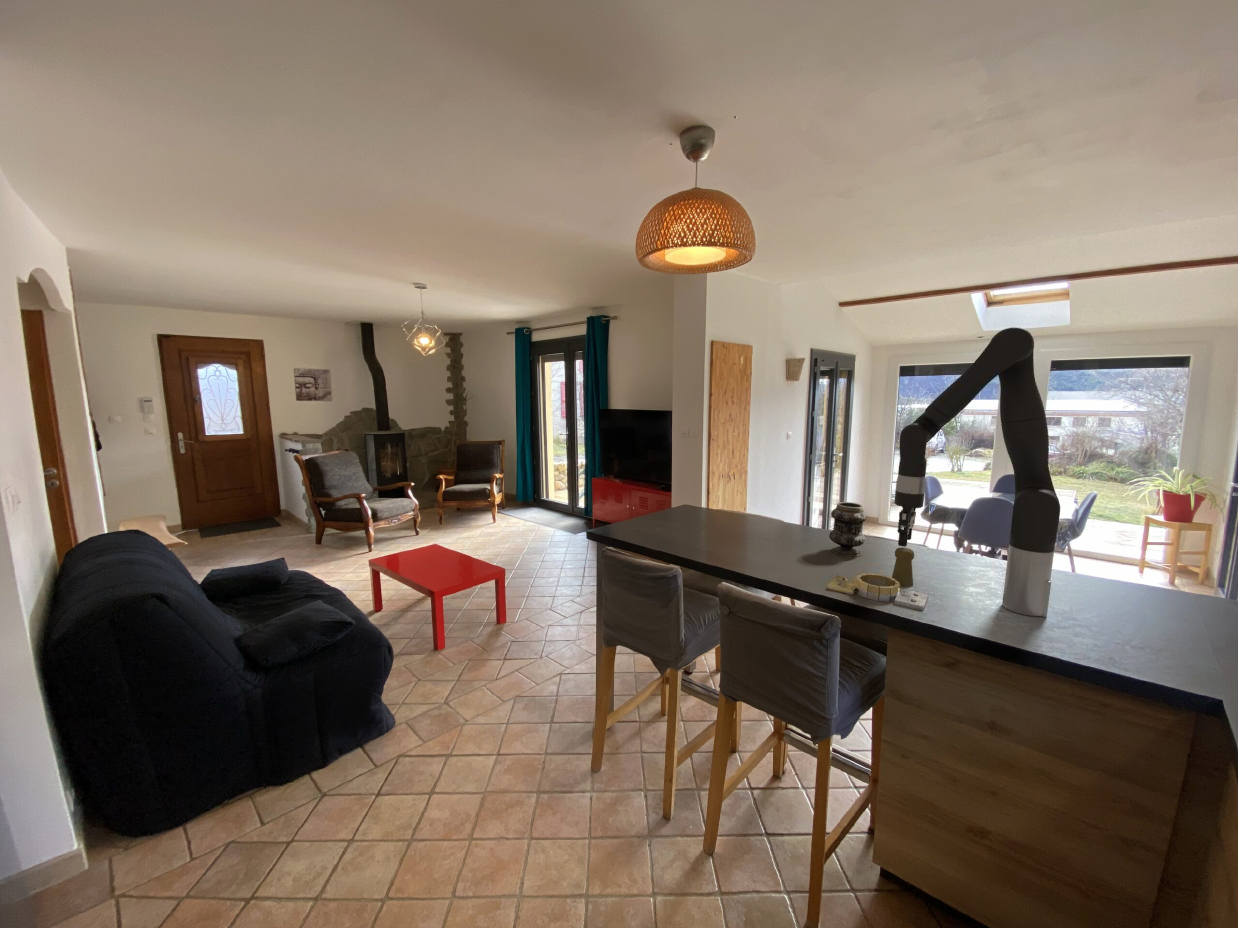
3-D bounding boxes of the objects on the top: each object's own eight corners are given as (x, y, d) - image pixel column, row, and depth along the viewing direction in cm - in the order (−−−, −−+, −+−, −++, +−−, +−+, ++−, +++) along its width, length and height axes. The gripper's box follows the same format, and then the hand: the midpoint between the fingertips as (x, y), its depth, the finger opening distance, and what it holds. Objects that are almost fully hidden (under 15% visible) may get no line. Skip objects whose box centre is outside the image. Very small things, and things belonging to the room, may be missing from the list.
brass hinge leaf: (901, 592, 145) (902, 579, 144) (894, 604, 136) (895, 590, 136) (837, 578, 156) (837, 566, 155) (827, 589, 147) (828, 576, 147)
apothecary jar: (868, 558, 174) (872, 508, 171) (832, 556, 176) (835, 507, 174) (859, 548, 186) (862, 501, 183) (825, 546, 188) (828, 500, 185)
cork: (892, 585, 150) (895, 550, 149) (889, 578, 156) (892, 544, 154) (915, 588, 148) (918, 552, 146) (911, 580, 154) (914, 546, 152)
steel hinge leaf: (928, 597, 141) (929, 591, 141) (923, 611, 132) (924, 604, 132) (860, 583, 152) (861, 577, 151) (851, 594, 143) (852, 588, 143)
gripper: (921, 496, 140) (915, 551, 142) (927, 488, 151) (922, 539, 153) (891, 492, 144) (886, 545, 147) (899, 485, 155) (894, 534, 158)
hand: (904, 542), depth 150 cm, fingers open, 8 cm apart
